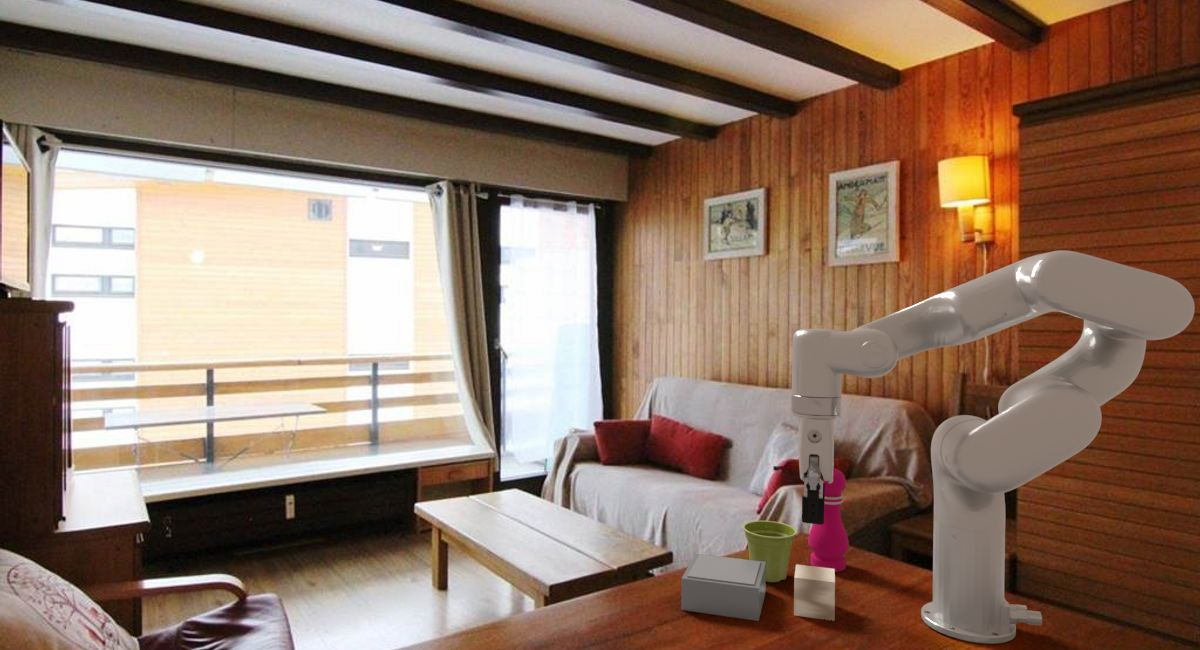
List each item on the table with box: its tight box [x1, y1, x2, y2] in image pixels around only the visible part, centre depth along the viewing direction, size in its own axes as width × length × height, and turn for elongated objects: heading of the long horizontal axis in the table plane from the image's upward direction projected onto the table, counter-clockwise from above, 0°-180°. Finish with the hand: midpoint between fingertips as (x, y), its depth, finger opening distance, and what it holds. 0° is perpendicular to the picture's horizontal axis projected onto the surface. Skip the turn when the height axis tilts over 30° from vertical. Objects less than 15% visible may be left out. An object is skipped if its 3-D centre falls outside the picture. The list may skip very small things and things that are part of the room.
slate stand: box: [680, 553, 767, 622], centre depth 112 cm, size 12×12×5 cm
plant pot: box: [742, 520, 798, 583], centre depth 122 cm, size 9×9×9 cm
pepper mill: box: [807, 465, 850, 573], centre depth 127 cm, size 7×7×20 cm
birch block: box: [793, 563, 836, 622], centre depth 108 cm, size 6×6×6 cm
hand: (813, 514), depth 108 cm, fingers open, 9 cm apart
